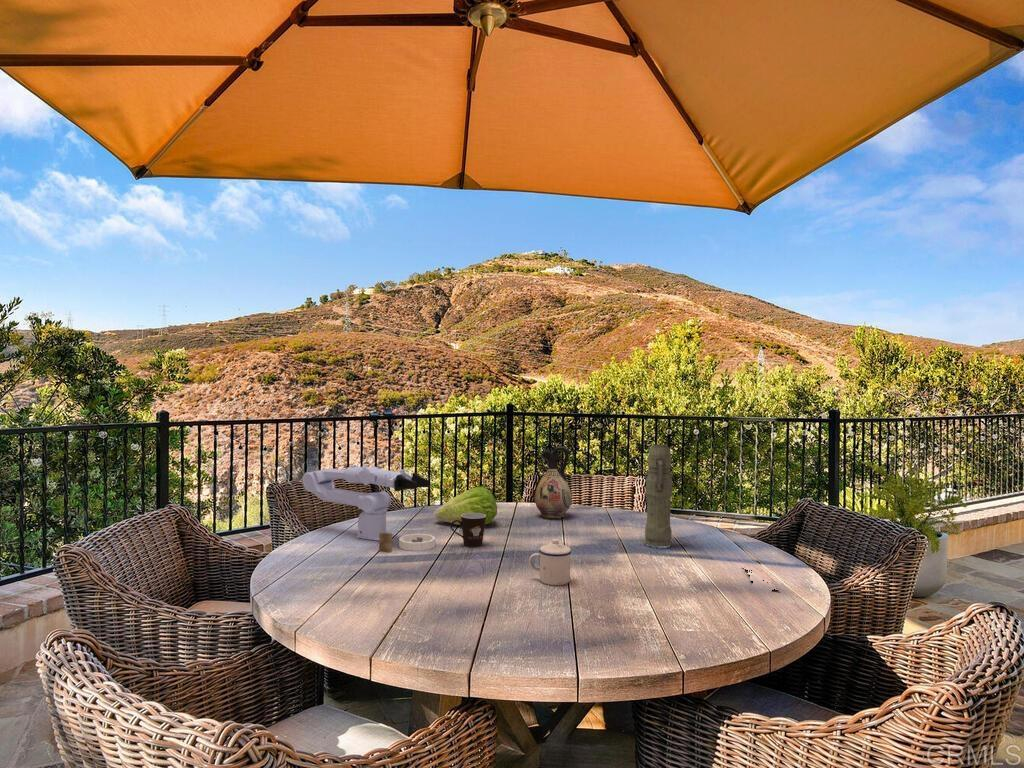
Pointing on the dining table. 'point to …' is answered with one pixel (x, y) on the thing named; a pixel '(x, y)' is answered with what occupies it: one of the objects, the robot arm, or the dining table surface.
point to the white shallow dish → (417, 542)
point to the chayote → (468, 506)
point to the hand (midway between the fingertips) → (422, 484)
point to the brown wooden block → (385, 542)
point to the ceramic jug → (553, 486)
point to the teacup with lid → (553, 563)
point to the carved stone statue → (658, 496)
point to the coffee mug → (472, 529)
